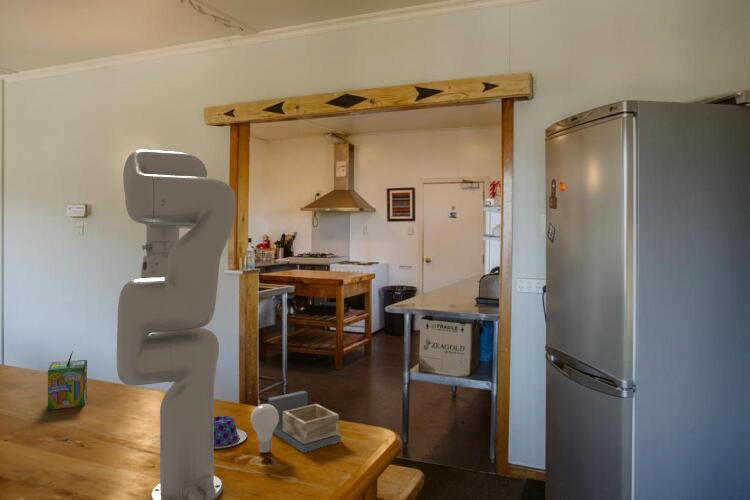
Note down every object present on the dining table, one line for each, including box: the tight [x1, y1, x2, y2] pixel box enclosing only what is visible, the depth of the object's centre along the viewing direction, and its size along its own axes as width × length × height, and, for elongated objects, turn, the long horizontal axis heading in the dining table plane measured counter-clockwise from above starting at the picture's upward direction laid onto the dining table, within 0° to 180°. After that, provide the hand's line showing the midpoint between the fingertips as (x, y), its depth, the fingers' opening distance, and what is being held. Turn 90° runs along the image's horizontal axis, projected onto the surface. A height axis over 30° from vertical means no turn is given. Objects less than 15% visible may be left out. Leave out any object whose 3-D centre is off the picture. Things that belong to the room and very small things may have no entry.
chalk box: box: [47, 351, 88, 411], centre depth 146 cm, size 9×9×15 cm
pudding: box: [214, 415, 248, 449], centre depth 123 cm, size 12×12×5 cm
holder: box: [283, 403, 340, 444], centre depth 123 cm, size 10×10×5 cm
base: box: [267, 390, 342, 454], centre depth 125 cm, size 18×10×8 cm, turn 39°
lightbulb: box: [250, 403, 279, 454], centre depth 115 cm, size 6×6×11 cm
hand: (163, 317), depth 128 cm, fingers open, 9 cm apart
